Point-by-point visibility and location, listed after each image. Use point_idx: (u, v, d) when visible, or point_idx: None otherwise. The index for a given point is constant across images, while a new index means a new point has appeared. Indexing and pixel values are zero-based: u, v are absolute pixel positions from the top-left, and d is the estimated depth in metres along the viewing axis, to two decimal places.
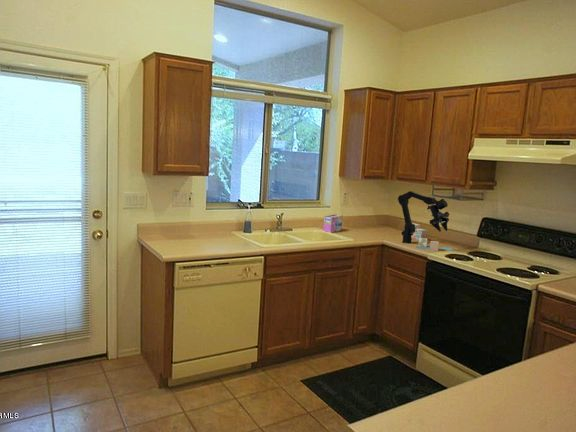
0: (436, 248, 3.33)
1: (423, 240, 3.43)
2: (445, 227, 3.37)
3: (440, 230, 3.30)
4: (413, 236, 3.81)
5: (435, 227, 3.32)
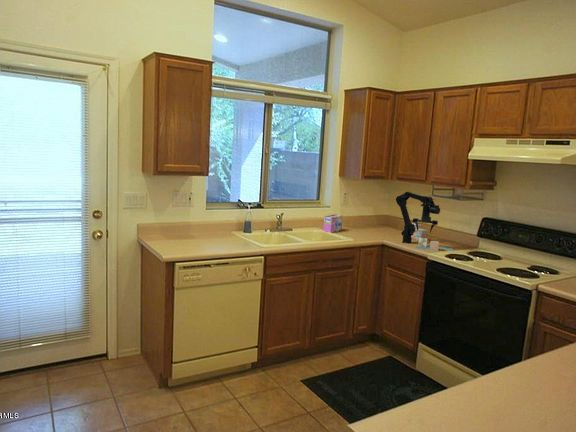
0: (436, 248, 3.33)
1: (423, 240, 3.43)
2: (430, 229, 3.44)
3: (417, 230, 3.46)
4: (413, 236, 3.81)
5: None
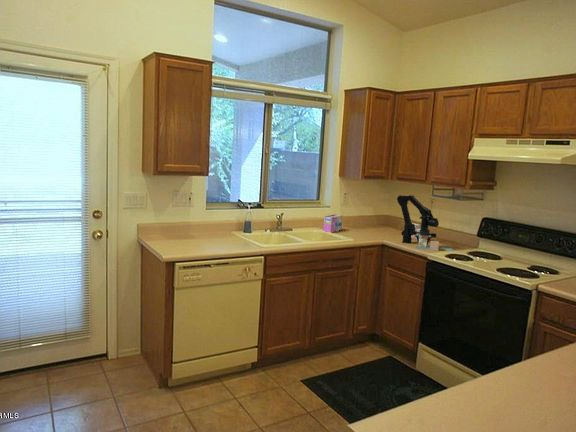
0: (436, 248, 3.33)
1: (423, 240, 3.43)
2: (427, 241, 3.45)
3: None
4: (413, 236, 3.81)
5: None
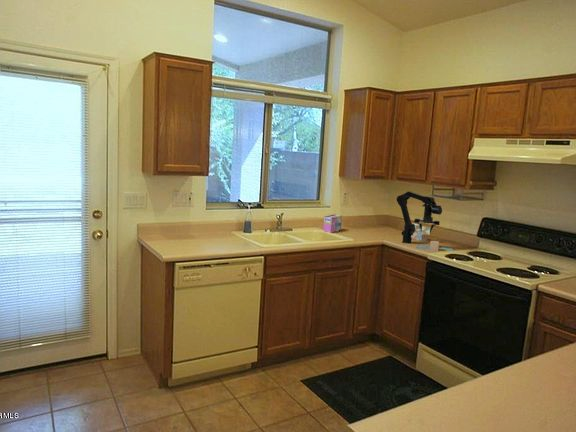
0: (436, 248, 3.33)
1: (426, 228, 3.41)
2: (430, 229, 3.44)
3: (421, 231, 3.45)
4: (414, 236, 3.80)
5: None
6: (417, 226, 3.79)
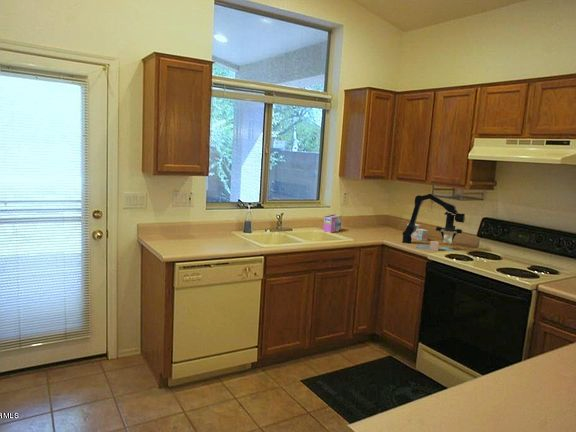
0: (436, 248, 3.33)
1: (448, 236, 3.38)
2: (452, 237, 3.40)
3: None
4: (414, 236, 3.80)
5: None
6: (417, 226, 3.78)
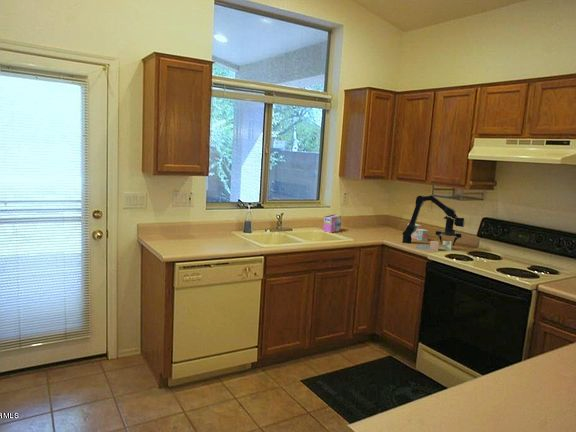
0: (436, 248, 3.33)
1: (447, 242, 3.39)
2: (453, 242, 3.40)
3: None
4: (414, 236, 3.80)
5: None
6: (417, 226, 3.78)
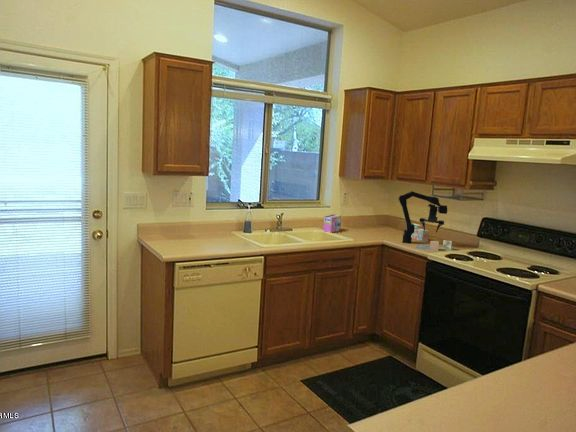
0: (436, 248, 3.33)
1: (447, 242, 3.39)
2: None
3: (424, 230, 3.56)
4: (414, 236, 3.80)
5: None
6: (418, 226, 3.78)
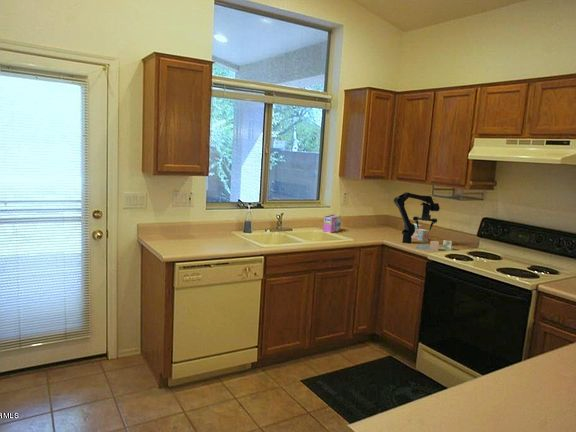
0: (436, 248, 3.33)
1: (447, 242, 3.39)
2: (430, 227, 3.59)
3: None
4: (414, 236, 3.79)
5: (417, 223, 3.64)
6: None
